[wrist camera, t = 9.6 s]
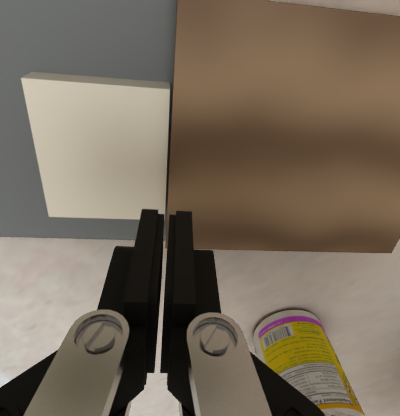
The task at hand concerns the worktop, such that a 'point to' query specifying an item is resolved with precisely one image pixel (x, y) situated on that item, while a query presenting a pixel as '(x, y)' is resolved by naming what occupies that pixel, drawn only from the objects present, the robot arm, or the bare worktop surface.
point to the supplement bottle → (305, 360)
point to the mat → (72, 65)
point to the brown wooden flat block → (285, 127)
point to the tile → (99, 143)
